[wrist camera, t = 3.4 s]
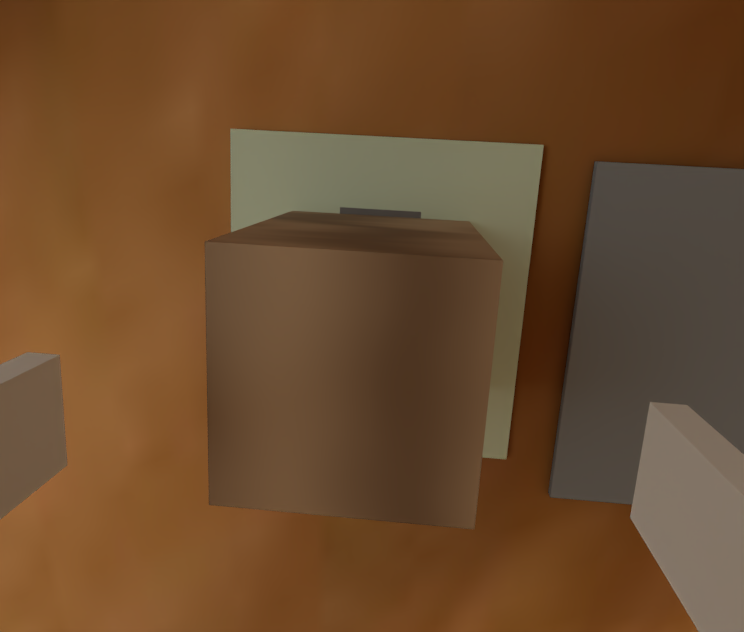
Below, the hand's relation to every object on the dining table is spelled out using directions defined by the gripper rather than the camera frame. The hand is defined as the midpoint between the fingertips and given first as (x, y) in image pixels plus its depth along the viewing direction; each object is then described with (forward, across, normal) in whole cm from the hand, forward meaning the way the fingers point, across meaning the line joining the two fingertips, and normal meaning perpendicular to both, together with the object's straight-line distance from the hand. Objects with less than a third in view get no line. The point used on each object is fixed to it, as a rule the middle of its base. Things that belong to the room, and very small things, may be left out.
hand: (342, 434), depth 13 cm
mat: (+12, +14, 0) cm, 18 cm away
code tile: (+12, 0, 0) cm, 12 cm away
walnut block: (+12, 0, 0) cm, 12 cm away
